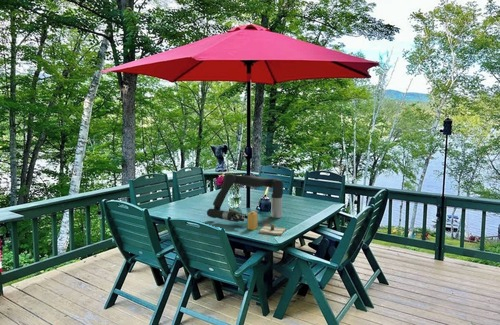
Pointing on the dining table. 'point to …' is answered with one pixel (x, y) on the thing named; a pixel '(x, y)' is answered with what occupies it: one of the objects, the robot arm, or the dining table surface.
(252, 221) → the tall orange toy brick
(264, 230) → the beige board with knob
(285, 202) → the dining table surface
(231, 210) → the handheld radio
